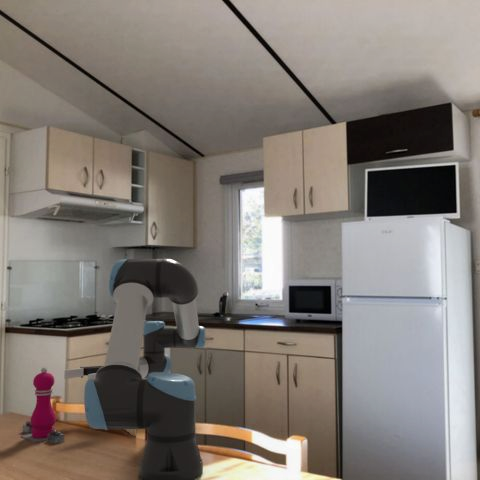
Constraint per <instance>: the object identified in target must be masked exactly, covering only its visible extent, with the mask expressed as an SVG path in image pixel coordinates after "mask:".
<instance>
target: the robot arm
mask: <svg viewBox="0 0 480 480" xmlns="http://www.w3.org/2000/svg"><path fill="white" fill-rule="evenodd" d="M108 285H109V286H108V289H109V294H110V296H111V297H112V298H113V301H114V302H115V303H116V306H115V311H114V316H113V321H112V326H111V331H110V336H109V341H108V345H107V350H106V355H105V359H104V365H94V366H80V367H79V368H72V369H70V368H69V369H64V379H65V380H67V379H73V378H83V379H84V377H85V376H87V380H86V382H85V384H84V385H85V386H84V394H83V400H84V401H83V404H84V405H83V406H84V414H85V419H86V421H87V424H88V426H89V427H90V428H91V429H94V430H105V431H108V430H146V431H147V433H146V437H147V438H146V443H145V447H144V451H143V455H142V458H141V461H140V463H139V477H140V478H141V479H142V480H194V479H197V478H198V477H200V476H201V475H202V474H203V473H204V471H203V470H204V463H203V458H202V457H201V453H200V452H201V451H200V449H199V446H198V443H197V438H196V435H197V434H196V400H197V396H196V385H195V382H194V380H193V378H191V377H189V376H187V375H184V374H180V373H177V372H176V373H175V372H170V371H171V369H172V366H173V365H172V360H171V358H170V356H169V355H168V354H166V353H165V352H166V349H187V348H188V349H198V348H204V347H205V346H206V328H205V327H204V326H201V325H199V317H198V315H199V314H198V308H197V297H198V295H199V287H198V286H199V285H198V282H197V280H196V278H195V276H194V275H193V273H191V271H190V270H189V269H188V268H187V267H186V266H184V264H182V263H180V262H178V261H176V260H174V259H171V258H132V257H131V258H124V259H119V260H117V261H115V262H114V264H113V266H112V269H111V270H110V274H109V282H108ZM155 298H156V299H158V298H159V299H160V298H167V299H168V300H170V302H172V309H173V313H174V320H175V325H176V326H166V323H165V322H164V321H162V320H161V321H160V320H154V321H153V320H151V321H150V320H148V321H146V316H147V312H148V311H147V309H148V308H149V307H151V306H152V304H153V302H154V299H155ZM142 344H143V345H142ZM142 346H143V353H142V355H143V356H142V355H141V351H142Z"/></svg>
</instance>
